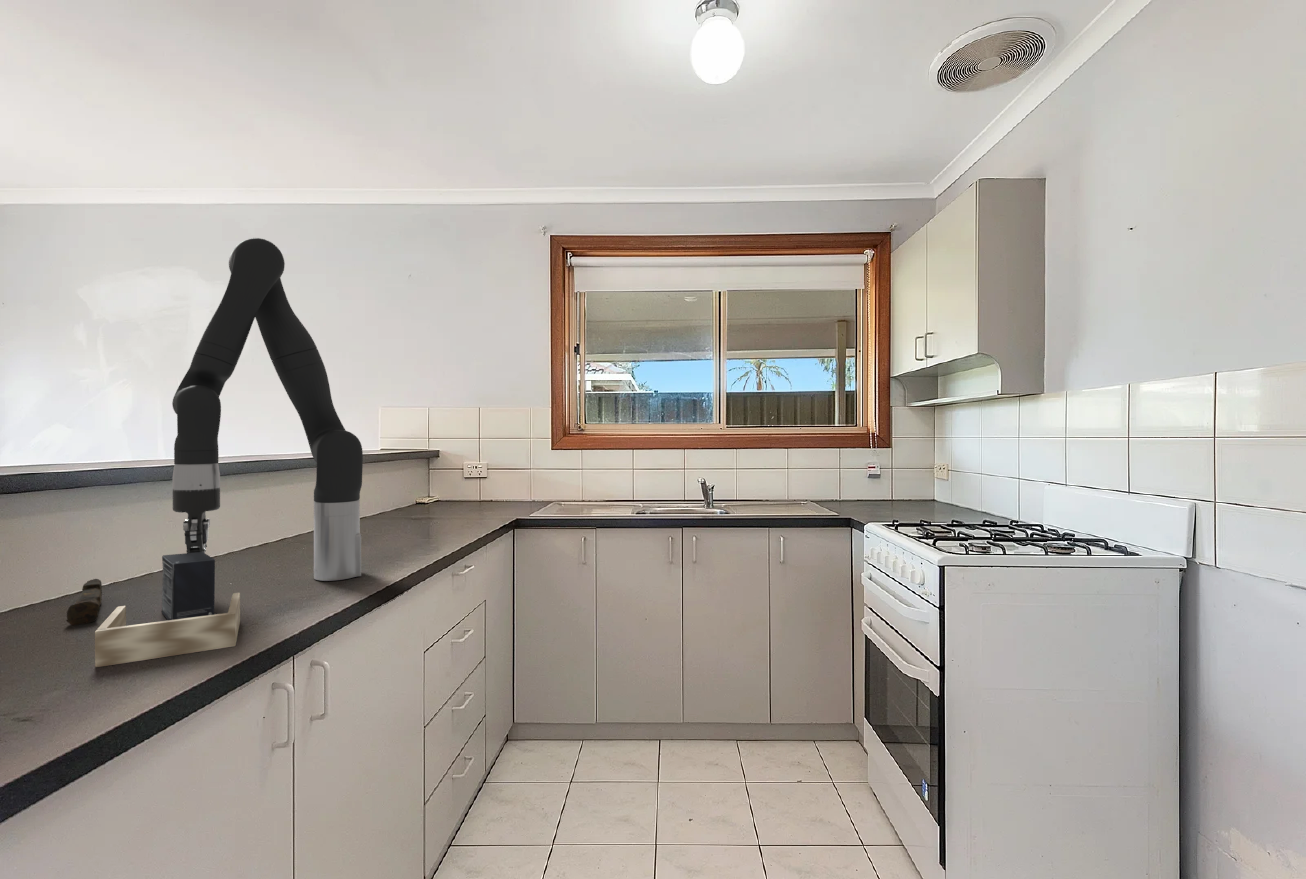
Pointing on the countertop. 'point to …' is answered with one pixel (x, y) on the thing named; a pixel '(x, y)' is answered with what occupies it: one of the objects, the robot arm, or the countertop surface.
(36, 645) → the countertop surface
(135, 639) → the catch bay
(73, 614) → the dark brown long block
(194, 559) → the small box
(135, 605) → the countertop surface
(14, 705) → the countertop surface
